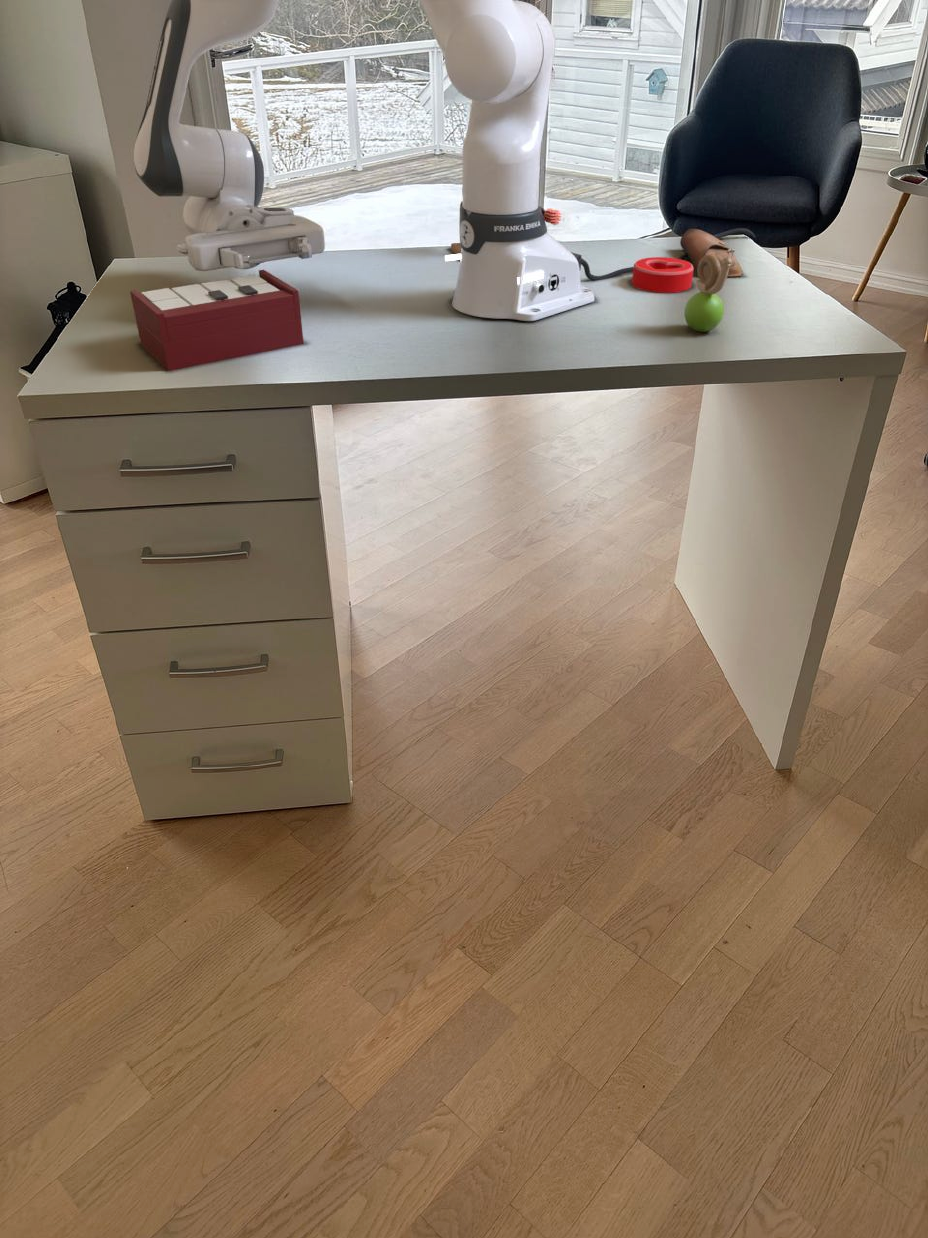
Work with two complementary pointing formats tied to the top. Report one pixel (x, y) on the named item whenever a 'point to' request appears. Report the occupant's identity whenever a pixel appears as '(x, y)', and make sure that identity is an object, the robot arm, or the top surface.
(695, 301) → the snail figurine
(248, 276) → the c key
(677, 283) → the decorative ornament
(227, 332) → the toy piano
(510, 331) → the top surface
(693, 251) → the sunglasses case
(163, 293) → the f key
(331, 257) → the top surface
